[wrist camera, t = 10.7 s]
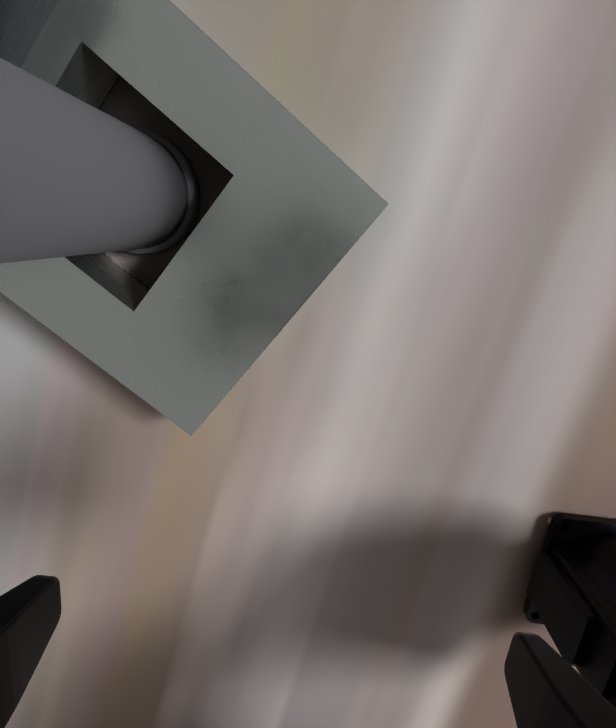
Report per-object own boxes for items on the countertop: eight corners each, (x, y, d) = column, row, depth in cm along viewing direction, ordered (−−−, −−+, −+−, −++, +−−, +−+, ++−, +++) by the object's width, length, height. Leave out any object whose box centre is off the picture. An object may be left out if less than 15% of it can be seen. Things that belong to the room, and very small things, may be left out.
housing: (379, 207, 19) (402, 198, 13) (209, 408, 22) (166, 472, 16) (53, -93, 16) (-95, -269, 11) (-89, 179, 19) (-266, 158, 14)
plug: (175, 114, 18) (-157, -136, 6) (216, 233, 19) (17, 240, 7) (69, 153, 19) (-445, 0, 6) (115, 266, 20) (-236, 326, 8)
